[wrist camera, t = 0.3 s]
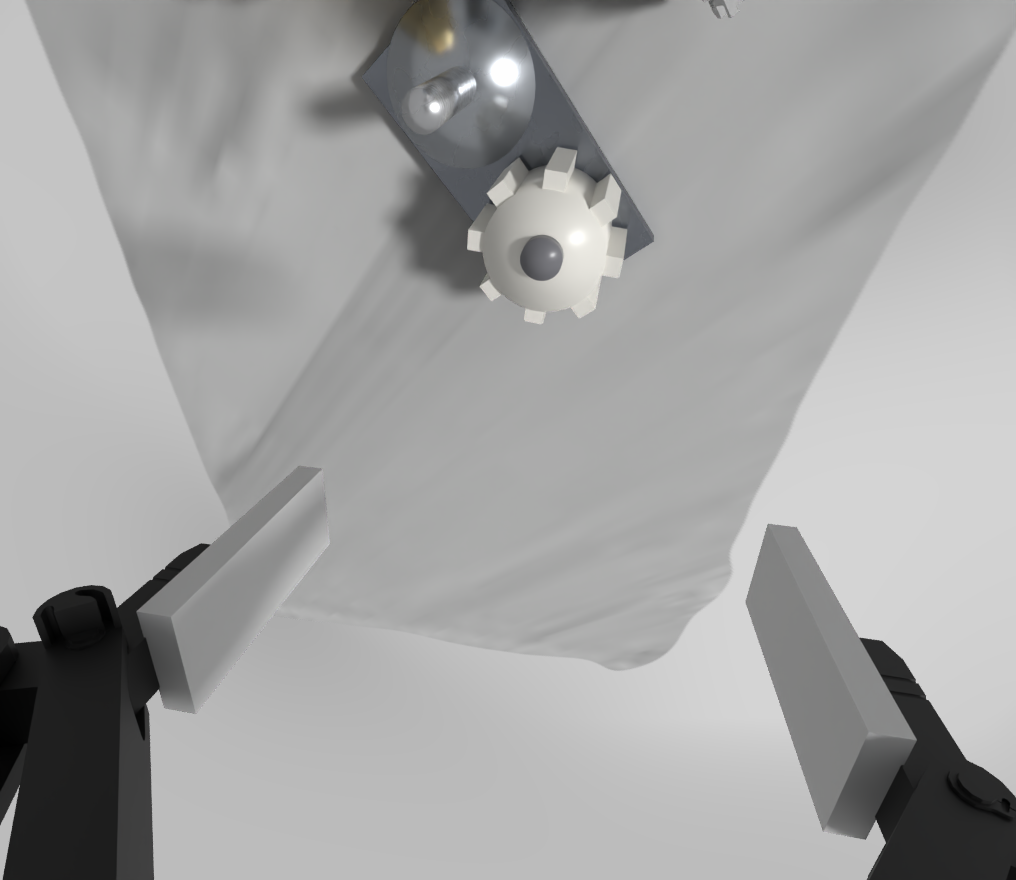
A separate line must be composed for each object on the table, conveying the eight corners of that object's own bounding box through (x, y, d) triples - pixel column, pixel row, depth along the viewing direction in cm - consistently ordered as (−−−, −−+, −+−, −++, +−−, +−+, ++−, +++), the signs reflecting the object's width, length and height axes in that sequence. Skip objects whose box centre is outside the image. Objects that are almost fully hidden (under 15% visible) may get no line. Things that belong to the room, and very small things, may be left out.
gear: (573, 111, 32) (559, 136, 27) (654, 242, 35) (653, 282, 31) (458, 206, 37) (431, 240, 32) (541, 313, 40) (526, 355, 36)
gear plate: (472, -59, 29) (423, -62, 23) (653, 235, 36) (652, 290, 30) (363, 67, 34) (299, 92, 28) (543, 304, 41) (523, 363, 35)
